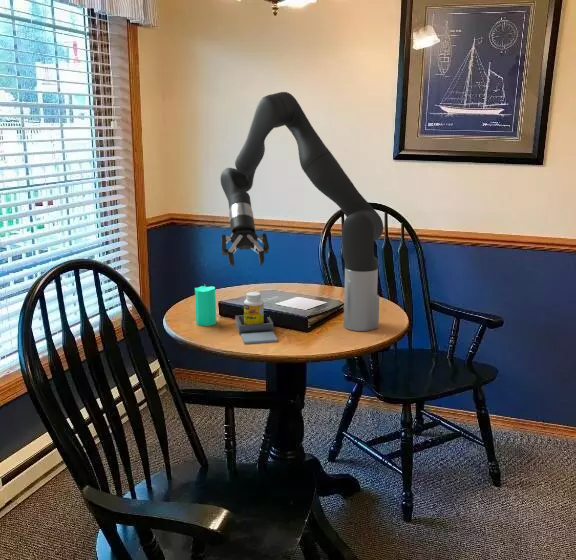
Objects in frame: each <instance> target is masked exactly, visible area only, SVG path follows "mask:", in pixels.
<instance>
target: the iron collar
mask: <svg viewBox="0 0 576 560" xmlns="http://www.w3.org/2000/svg"><path fill="white" fill-rule="evenodd" d="M234 319H235V320H234V322H235V327H236V329H237V332H238V334H239V335H240V336H241V334H246V333H260V332H274V331H275V330H274V326H275V325H274V322H273V320H272V318H271V317H270V316H269V317H267V323H263V324H247V325H244V314H243V315H242V314H241V315H240V314H239V315H234ZM274 333H275V332H274Z"/></svg>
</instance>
